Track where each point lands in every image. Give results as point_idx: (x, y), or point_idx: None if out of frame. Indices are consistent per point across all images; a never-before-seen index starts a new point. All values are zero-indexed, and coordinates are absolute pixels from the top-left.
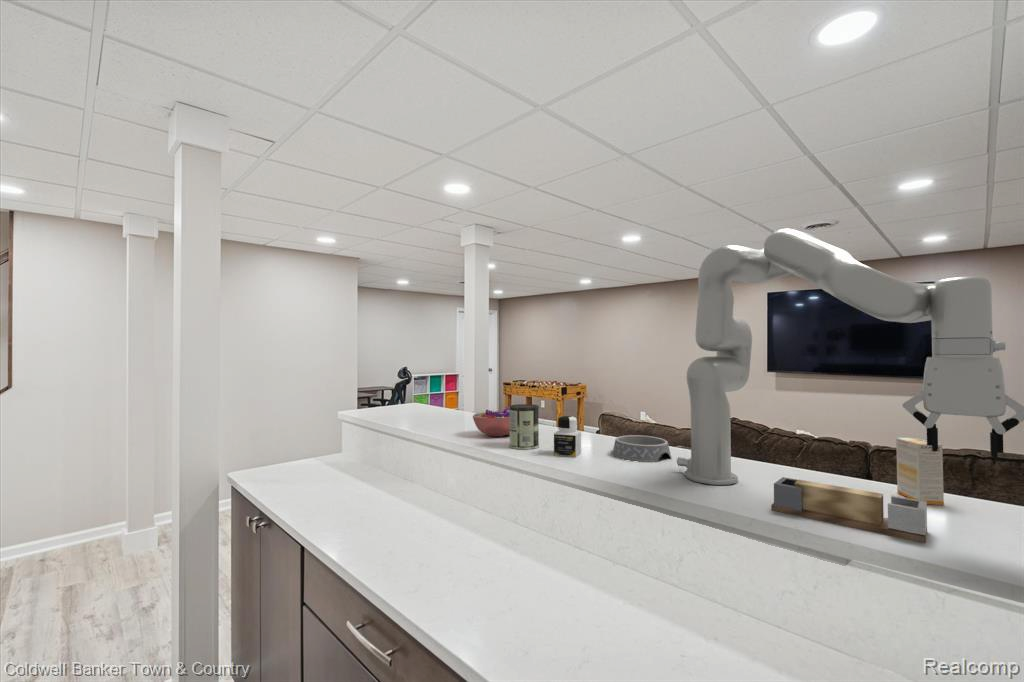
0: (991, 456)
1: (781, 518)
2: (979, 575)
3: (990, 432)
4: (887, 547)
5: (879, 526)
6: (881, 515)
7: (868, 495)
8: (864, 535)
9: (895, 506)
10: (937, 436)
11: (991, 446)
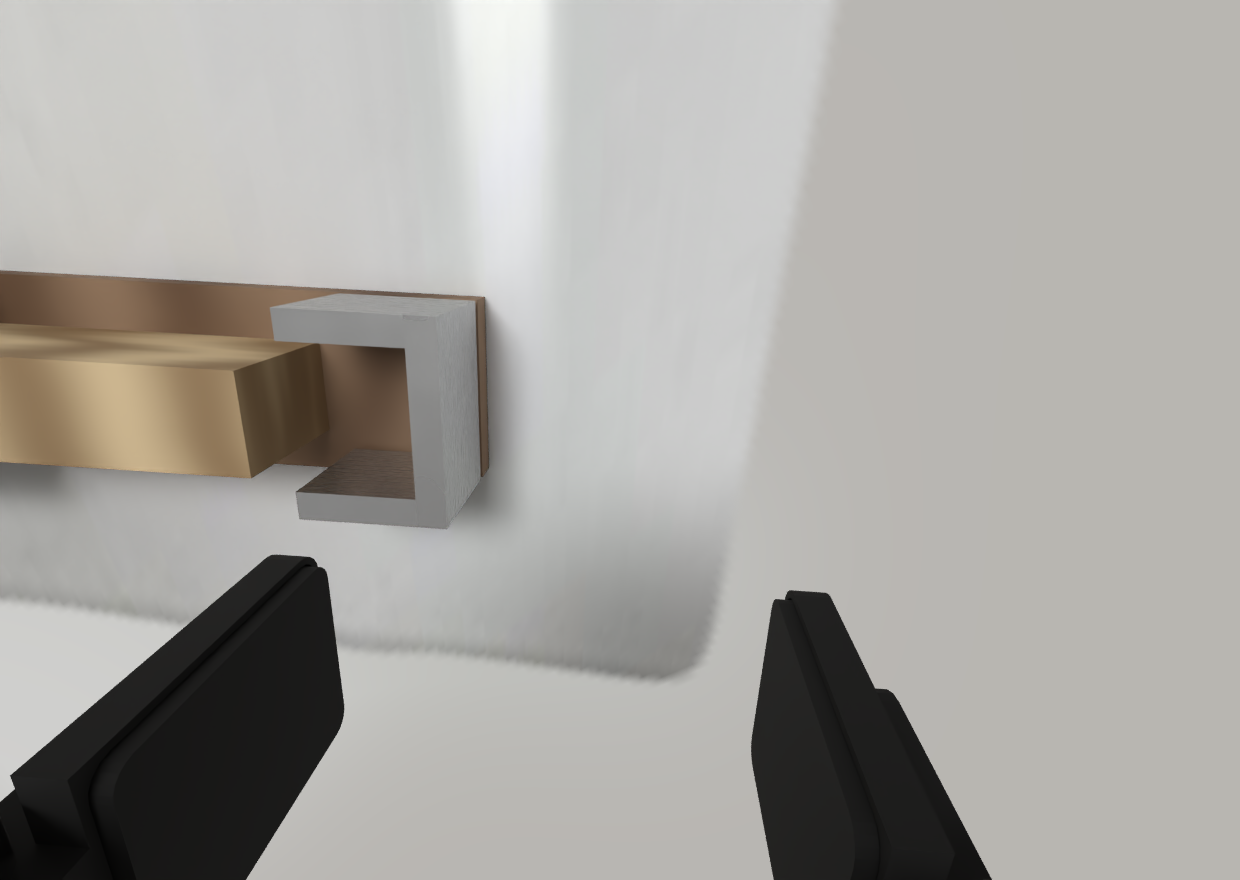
0: (752, 751)
1: (27, 521)
2: (627, 669)
3: (856, 876)
4: (394, 598)
5: (327, 451)
6: (305, 436)
7: (191, 464)
8: (309, 521)
9: (333, 518)
10: (241, 840)
11: (772, 864)
